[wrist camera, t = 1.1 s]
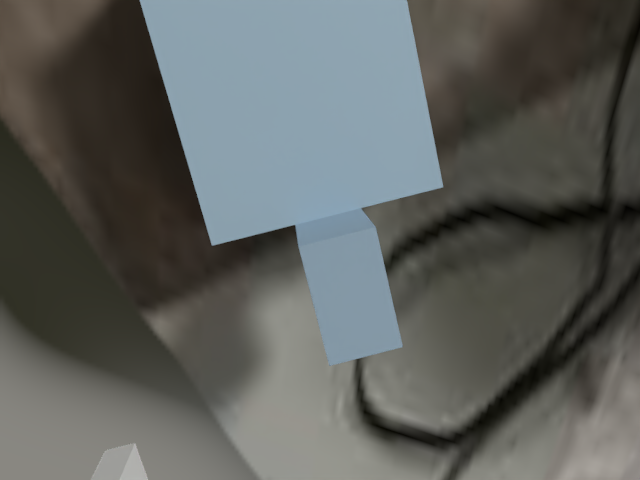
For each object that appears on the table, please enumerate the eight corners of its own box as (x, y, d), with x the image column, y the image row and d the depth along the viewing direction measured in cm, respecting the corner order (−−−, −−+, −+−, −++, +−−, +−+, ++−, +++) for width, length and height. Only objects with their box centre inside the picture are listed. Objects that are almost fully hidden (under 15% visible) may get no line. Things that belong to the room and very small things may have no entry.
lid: (120, -94, 25) (71, -155, 19) (365, -154, 25) (392, -233, 19) (244, 331, 30) (236, 389, 24) (451, 278, 30) (495, 323, 24)
